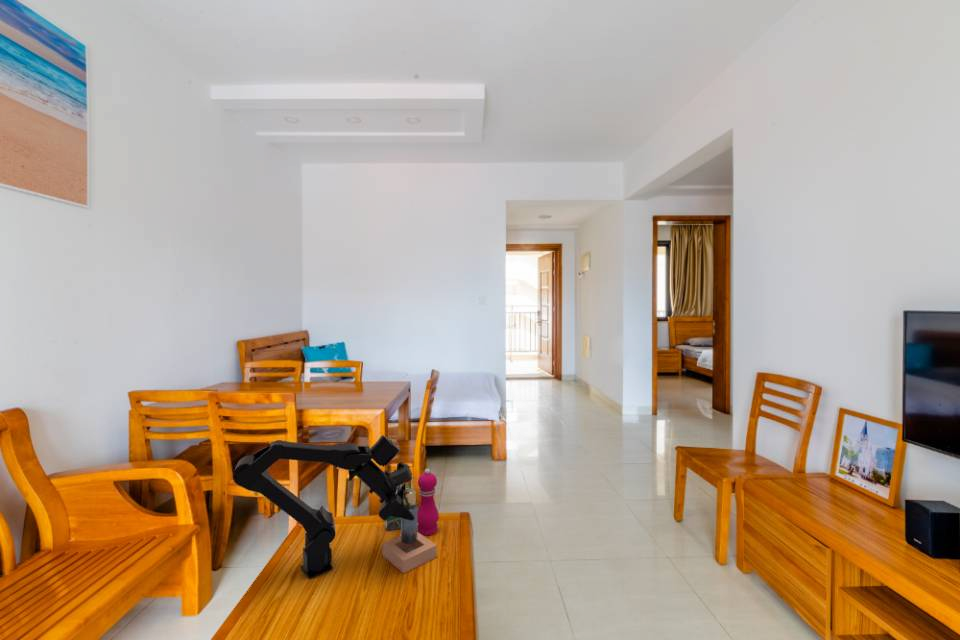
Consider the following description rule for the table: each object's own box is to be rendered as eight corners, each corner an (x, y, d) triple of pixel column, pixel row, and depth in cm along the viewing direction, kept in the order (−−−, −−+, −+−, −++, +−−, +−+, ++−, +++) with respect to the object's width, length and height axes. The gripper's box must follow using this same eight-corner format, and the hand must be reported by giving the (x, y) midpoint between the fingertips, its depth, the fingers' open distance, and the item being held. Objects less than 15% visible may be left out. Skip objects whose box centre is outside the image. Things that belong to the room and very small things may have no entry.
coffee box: (385, 531, 138) (385, 491, 138) (384, 527, 141) (384, 487, 140) (410, 527, 141) (410, 487, 141) (409, 522, 144) (408, 483, 143)
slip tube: (406, 545, 122) (406, 496, 121) (397, 538, 125) (398, 490, 125) (420, 539, 125) (420, 491, 124) (411, 533, 128) (411, 486, 128)
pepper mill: (440, 525, 143) (440, 464, 142) (436, 537, 135) (436, 473, 134) (418, 523, 143) (418, 463, 142) (413, 535, 136) (413, 472, 135)
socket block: (403, 573, 118) (403, 560, 117) (382, 555, 126) (382, 543, 126) (436, 557, 125) (436, 545, 125) (414, 541, 133) (414, 529, 133)
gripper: (391, 470, 114) (434, 510, 116) (398, 446, 133) (434, 481, 134) (360, 501, 114) (403, 540, 115) (371, 472, 132) (408, 507, 134)
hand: (414, 514), depth 125 cm, fingers closed on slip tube, 5 cm apart
